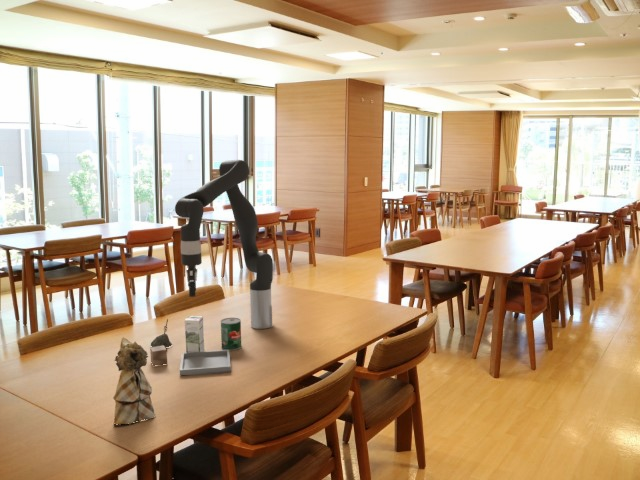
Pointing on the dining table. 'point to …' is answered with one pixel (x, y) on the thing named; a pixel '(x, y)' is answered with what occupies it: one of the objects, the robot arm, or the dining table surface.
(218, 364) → the slate tray
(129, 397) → the plush toy
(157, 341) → the sword in stone
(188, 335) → the syrup box
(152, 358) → the walnut block
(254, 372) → the dining table surface
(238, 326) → the canned tomato
